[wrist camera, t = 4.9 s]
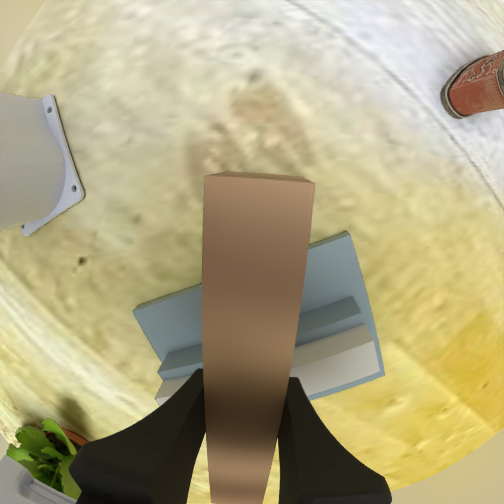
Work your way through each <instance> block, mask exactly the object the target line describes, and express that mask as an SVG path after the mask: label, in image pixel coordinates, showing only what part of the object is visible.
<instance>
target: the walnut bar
mask: <svg viewBox="0 0 504 504" xmlns="http://www.w3.org/2000/svg"><path fill="white" fill-rule="evenodd" d="M314 189H315V184H314V183H313V182H311V181H309V180H307V179H305V178H303V177H298V176H287V175H275V174H262V173H247V172H229V171H227V172H222V173H217V174H211V175H207V176H205V183H204V208H203V245H202V345H203V381H204V406H205V425H206V442H207V457H208V470H209V482H210V494H211V503H215V504H262V503H263V499H264V495H265V491H266V486H267V482H268V478H269V474H270V470H271V465H272V461H273V456H274V452H275V447H276V442H277V438H278V433H279V428H280V423H281V418H282V413H283V408H284V403H285V398H286V392H287V387H288V381H289V376H290V370H291V364H292V358H293V353H294V346H295V340H296V334H297V328H298V321H299V314H300V307H301V301H302V293H303V286H304V279H305V271H306V263H307V255H308V247H309V238H310V229H311V220H312V210H313V200H314Z"/></svg>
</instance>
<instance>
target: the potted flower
mask: <svg viewBox="0 0 504 504" xmlns="http://www.w3.org/2000/svg"><path fill="white" fill-rule="evenodd" d="M47 419H48V420H43V422H42V424H44V426H43V427H44V428H45V429H41V430H40V429H39V427H32V426H29V425H27V426H22V427H21V428H18V431H16V435H15V437H16V438H17V440H18V442H19V443H21V445H20V447H19V448H16V447H15V445H13V444H12V443H10V444H9V448H8V450H7V453H6V455H7V456H9V457H10V458H12V459H13V460H15V461H16V462H18V463H19V464H21V465H22V466H24V467H25V468H26V469H27V470H28V471H29V472H30V473H31V474H32V476H33V478H35V479H36V480H38V481H40V482H42V483H43V484H45V485H47V486H49V487H51V488H53V489H55V490H57V491H59V492H61V493H63V494H65V495H67V496H69V497H71V498H73V499H75V500H78V498H79V496H80V494H81V492H82V491H81V489H80V488H79V486H78V485H77V484H76V482H75V481H74V479H73V478H72V477H71V475H70V473H69V468H68V467H69V465H70V464H71V462H72V460H73V459H74V457H75V455H76V454H77V452H78V451H79V450H80V448H81V447H82V446H83V445H84V444H85V443H89V442H87V441H86V440H85V439H84V438H82V437H80V436H78V435H76V434H75V433H72V432H70V431H67V430H65V429H61V428H60V427H59V426H58V425H57V424H56V423H55V422H54V421H53V420H52V419H50V418H47ZM44 430H47V431H49V432H48V433H47V434H45V431H44ZM60 459H61V460H60Z"/></svg>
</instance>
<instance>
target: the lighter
mask: <svg viewBox="0 0 504 504" xmlns="http://www.w3.org/2000/svg"><path fill="white" fill-rule="evenodd" d="M440 99H441V102H442V105H443V107H444V109H445V110H446V111H447V113H448V114H449V115H450V116H452V117H453V118H456V119H462V118H468V117H470V116H472V115H474V114H476V113H480V112H485V111H491V110H497V109H504V50H503V51H500V52H498V53H495V54H493V55H485V56H482V57H479V58H476V59H474V60H472V61H470V62H468V63H467V64H465V65H463V66H461V67H460V68H459V69H458V70H457V71H456V72H455V73H454V74H453V75H452V76H451V77H450V78H449V80H448V81H447V82H446V84H445V85H444V86H443V88H442V90H441V92H440Z"/></svg>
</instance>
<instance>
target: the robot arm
mask: <svg viewBox="0 0 504 504" xmlns="http://www.w3.org/2000/svg"><path fill="white" fill-rule="evenodd" d="M51 108H52V111H51V112H50V110H51ZM75 186H76V187H77V190H76V191H75V189H74V188H75ZM83 197H84V191H83V189H82V186H81V183H80V180H79V178H78V175H77V172H76V169H75V166H74V163H73V160H72V157H71V154H70V151H69V148H68V145H67V142H66V138H65V135H64V132H63V128H62V125H61V121H60V118H59V114H58V111H57V107H56V103H55V99H54V96H53V95H52V94H47V95H46V96H45V97H44V98H42V99H36V98H30V97H24V96H18V95H11V94H4V93H0V232H3V231H6V230H9V229H12V228H15V227H17V226H20V229H21V231H22V234H23V235H24V236H25V237H27V236H29V235H31V234H32V233H33V232H35V231H36V230H38V229H39V228H40V227H42V226H43V225H45V224H46V223H48V222H49V221H51V220H52V219H53V218H55V217H56V216H58V215H59V214H61V213H62V212H64V211H65V210H67V209H69V208H70V207H72V206H73V205H75V204H76V203H78V202H79V201H81V200H82V199H83ZM24 225H25V227H24ZM205 432H206V425H205V406H204V381H203V369H202V368H198V369H196V370H195V372H194V373H193V374H192V375H191V376H190V377H189V379H188V380H187V381H186V382H185V383H184V384H183V385H182V386H181V387H180V388H179V389H178V390H177V391H176V392H175V393H174V394H173V395H172V396H171V397H170V398H169V399H168V400H167V401H166V402H164V403H163V404H162V405H161V406H160V407H158V408H157V409H156V410H155V411H153V412H152V413H151V414H149V415H148V416H146V417H145V418H143V419H142V420H140V421H138V422H137V423H135V424H133V425H132V426H130V427H128V428H126V429H124V430H122V431H120V432H117V433H115V434H113V435H110V436H108V437H105V438H102V439H99V440H96V441H92V442H89V443H85V444H84V445H83V446H82V447H81V448H80V450H79V451H78V452H77V454H76V455H75V457H74V459H73V460H72V462H71V464H70V465H69V467H68V468H69V473H70V475H71V477H72V478H73V479H74V481H75V482H76V484H77V485H78V486H79V488H80V489H81V491H82V492H81V494H80V496H79V498H78V500H75V499H73V498H71V497H69V496H67V495H65V494H63V493H61V492H59V491H57V490H55V489H53V488H51V487H49V486H47V485H45V484H43V483H42V482H40V481H38V480H36V479H35V478H33V476H32V474H31V473H30V472H29V471H28V470H27V469H26V468H25V467H24V466H22V465H21V464H19V463H18V462H16V461H15V460H13V459H12V458H10V457H9V456H7V455H5V456H4V457H3V458H2V460H1V461H0V504H186V503H187V497H188V492H189V487H190V483H191V478H192V473H193V469H194V465H195V461H196V458H197V455H198V452H199V450H200V447H201V444H202V441H203V438H204V435H205ZM278 447H279V461H280V490H279V504H390V503H391V502H392V497H391V492H390V489H389V487H388V484H387V482H386V480H385V478H384V477H383V476H381V475H379V474H378V473H376V472H375V471H373V470H371V469H370V468H368V467H367V466H365V465H364V464H363V463H361V462H360V461H359V460H357V459H356V458H355V457H354V456H353V455H352V454H351V453H350V452H348V451H347V450H346V449H345V448H344V447H343V446H342V445H341V444H340V443H339V442H338V441H337V440H336V438H335V437H334V436H333V435H332V434H331V433H330V431H329V430H328V429H327V428H326V426H325V425H324V423H323V422H322V421H321V419H320V418H319V416H318V415H317V413H316V411H315V410H314V408H313V406H312V405H311V403H310V401H309V399H308V397H307V395H306V393H305V391H304V389H303V387H302V384H301V382H300V379H299V378H298V377H289V381H288V387H287V392H286V398H285V403H284V408H283V413H282V418H281V423H280V428H279V433H278Z"/></svg>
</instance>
